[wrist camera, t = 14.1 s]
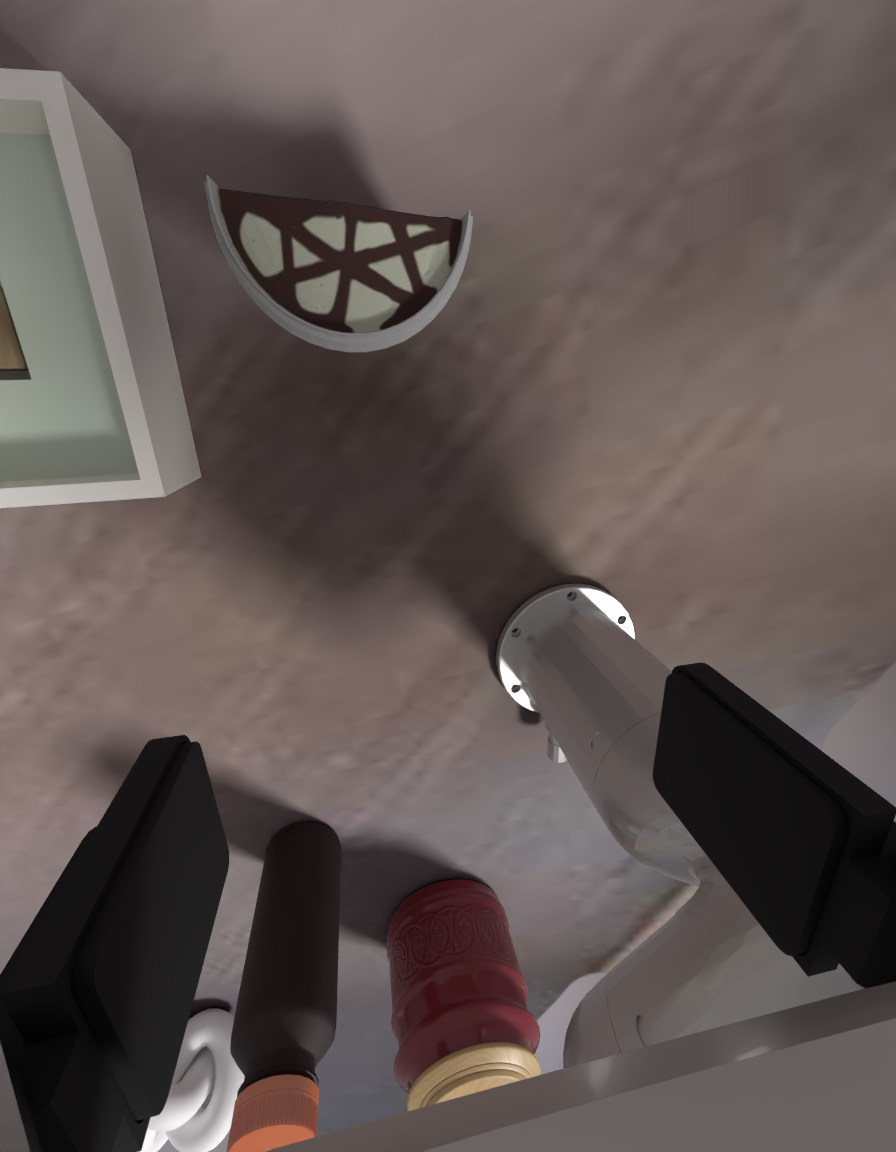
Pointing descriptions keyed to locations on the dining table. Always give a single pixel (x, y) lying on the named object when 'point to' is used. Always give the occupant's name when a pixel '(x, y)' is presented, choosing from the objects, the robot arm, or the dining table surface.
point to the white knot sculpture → (199, 1088)
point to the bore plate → (52, 331)
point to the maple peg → (9, 341)
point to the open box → (108, 293)
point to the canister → (457, 995)
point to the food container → (340, 265)
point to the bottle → (287, 990)
